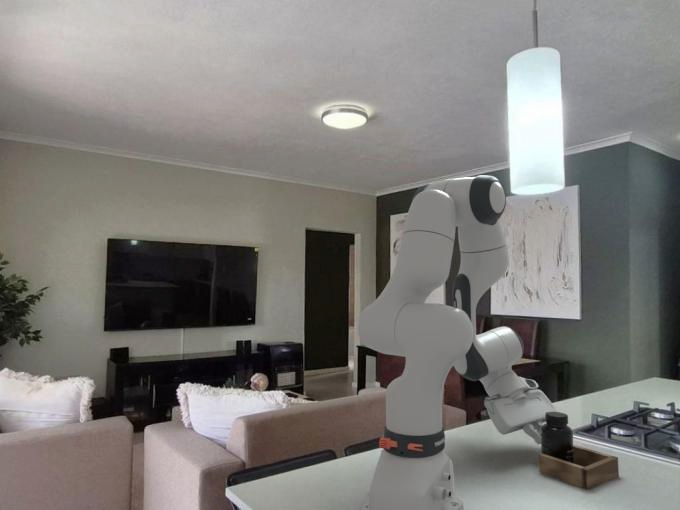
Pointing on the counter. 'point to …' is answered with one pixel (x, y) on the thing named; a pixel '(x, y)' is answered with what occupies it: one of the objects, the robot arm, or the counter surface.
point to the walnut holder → (581, 468)
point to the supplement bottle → (557, 437)
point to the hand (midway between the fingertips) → (544, 441)
